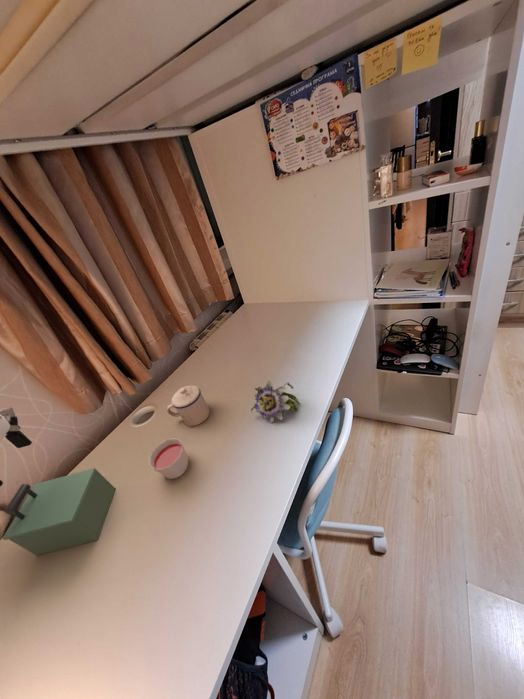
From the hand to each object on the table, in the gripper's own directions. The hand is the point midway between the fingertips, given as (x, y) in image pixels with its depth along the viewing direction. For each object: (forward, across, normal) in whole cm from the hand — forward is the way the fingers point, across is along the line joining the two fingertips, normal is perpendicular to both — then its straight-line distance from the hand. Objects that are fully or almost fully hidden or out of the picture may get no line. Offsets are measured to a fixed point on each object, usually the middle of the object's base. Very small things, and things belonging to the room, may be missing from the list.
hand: (11, 464), depth 60 cm
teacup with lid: (+23, -25, +28) cm, 44 cm away
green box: (+23, 0, 0) cm, 23 cm away
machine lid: (+14, 0, 0) cm, 14 cm away
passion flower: (+23, -18, +55) cm, 62 cm away
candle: (+23, -7, +25) cm, 35 cm away
